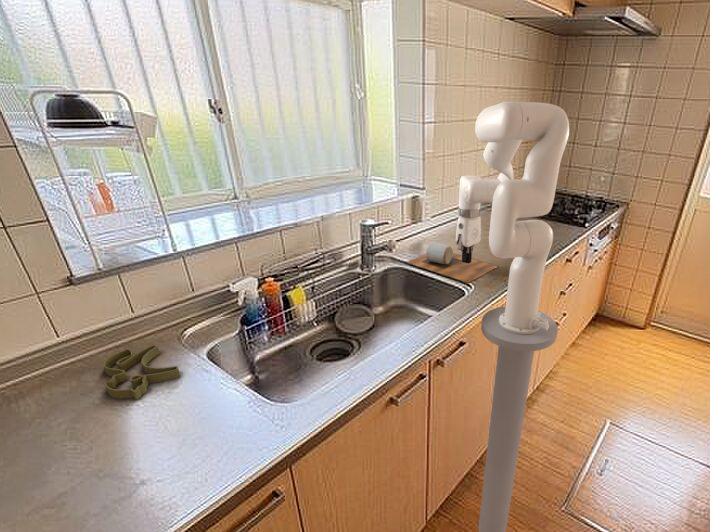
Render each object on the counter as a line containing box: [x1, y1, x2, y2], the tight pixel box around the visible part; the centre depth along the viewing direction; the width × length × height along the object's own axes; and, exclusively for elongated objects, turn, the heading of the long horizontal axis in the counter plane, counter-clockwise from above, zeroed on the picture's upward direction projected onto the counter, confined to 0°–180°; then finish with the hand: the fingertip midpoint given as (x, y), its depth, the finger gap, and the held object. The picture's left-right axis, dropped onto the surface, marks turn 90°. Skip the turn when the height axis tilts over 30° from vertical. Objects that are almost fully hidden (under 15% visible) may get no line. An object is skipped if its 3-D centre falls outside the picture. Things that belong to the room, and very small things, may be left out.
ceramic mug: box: [425, 240, 454, 264], centre depth 158 cm, size 11×8×8 cm
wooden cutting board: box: [406, 252, 498, 284], centre depth 158 cm, size 28×20×1 cm
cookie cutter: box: [102, 344, 181, 400], centre depth 90 cm, size 18×12×2 cm, turn 50°
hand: (466, 262), depth 153 cm, fingers closed
